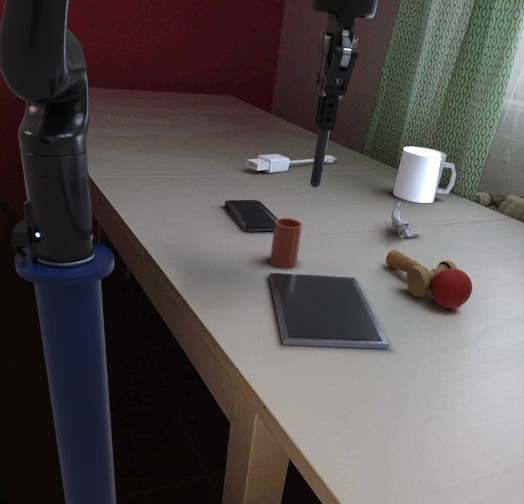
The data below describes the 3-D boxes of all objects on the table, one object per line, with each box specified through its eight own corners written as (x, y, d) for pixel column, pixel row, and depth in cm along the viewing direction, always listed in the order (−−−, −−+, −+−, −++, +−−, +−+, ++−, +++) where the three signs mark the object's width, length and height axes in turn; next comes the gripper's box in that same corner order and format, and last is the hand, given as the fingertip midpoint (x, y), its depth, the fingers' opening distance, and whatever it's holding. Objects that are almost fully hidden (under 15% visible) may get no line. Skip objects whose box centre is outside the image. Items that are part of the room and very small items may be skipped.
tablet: (282, 344, 69) (283, 338, 69) (268, 277, 86) (269, 271, 85) (387, 349, 71) (389, 343, 70) (354, 281, 87) (355, 276, 87)
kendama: (368, 275, 93) (438, 312, 78) (378, 239, 91) (452, 270, 76) (402, 279, 97) (475, 314, 82) (413, 244, 95) (490, 275, 80)
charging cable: (339, 166, 155) (341, 154, 153) (257, 174, 134) (259, 160, 133) (326, 162, 158) (328, 150, 156) (244, 169, 137) (245, 155, 135)
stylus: (310, 188, 74) (327, 83, 67) (308, 185, 75) (325, 82, 68) (320, 189, 74) (338, 85, 67) (318, 186, 75) (336, 83, 68)
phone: (258, 199, 114) (284, 225, 103) (258, 205, 115) (283, 230, 103) (223, 200, 112) (245, 226, 100) (222, 205, 112) (245, 231, 101)
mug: (444, 195, 137) (457, 152, 131) (450, 207, 129) (464, 161, 123) (391, 187, 138) (401, 144, 132) (394, 199, 130) (405, 153, 124)
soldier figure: (415, 230, 115) (430, 232, 103) (396, 244, 116) (408, 248, 104) (394, 200, 113) (407, 199, 102) (375, 214, 114) (385, 215, 103)
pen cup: (271, 267, 89) (276, 226, 85) (269, 256, 93) (273, 217, 89) (297, 268, 89) (303, 228, 86) (294, 258, 93) (299, 219, 89)
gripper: (309, -36, 66) (290, 115, 75) (327, -42, 55) (302, 136, 64) (368, -28, 67) (342, 121, 76) (398, -32, 56) (363, 142, 65)
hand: (324, 127), depth 70 cm, fingers closed on stylus, 1 cm apart
